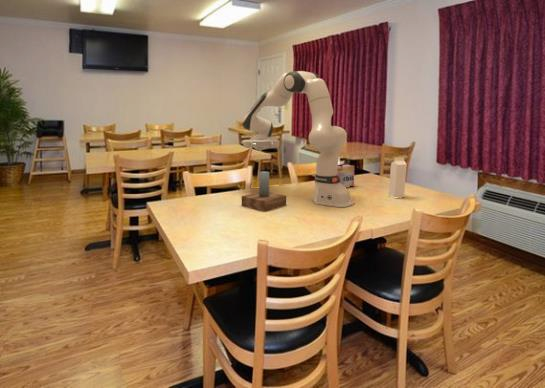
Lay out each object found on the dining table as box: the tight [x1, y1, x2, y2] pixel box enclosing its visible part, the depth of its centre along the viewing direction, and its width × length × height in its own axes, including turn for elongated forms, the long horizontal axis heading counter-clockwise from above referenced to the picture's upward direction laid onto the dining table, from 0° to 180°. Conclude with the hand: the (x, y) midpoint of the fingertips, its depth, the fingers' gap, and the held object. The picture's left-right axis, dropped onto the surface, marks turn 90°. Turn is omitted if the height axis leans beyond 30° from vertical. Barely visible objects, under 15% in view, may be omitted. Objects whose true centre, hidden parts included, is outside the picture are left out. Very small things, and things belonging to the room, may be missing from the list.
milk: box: [388, 157, 408, 197], centre depth 213 cm, size 6×6×22 cm
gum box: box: [337, 163, 355, 188], centre depth 237 cm, size 24×8×14 cm, turn 123°
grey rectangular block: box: [258, 170, 270, 197], centre depth 194 cm, size 5×5×12 cm
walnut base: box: [241, 191, 287, 213], centre depth 196 cm, size 16×16×5 cm
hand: (263, 145), depth 212 cm, fingers open, 8 cm apart
